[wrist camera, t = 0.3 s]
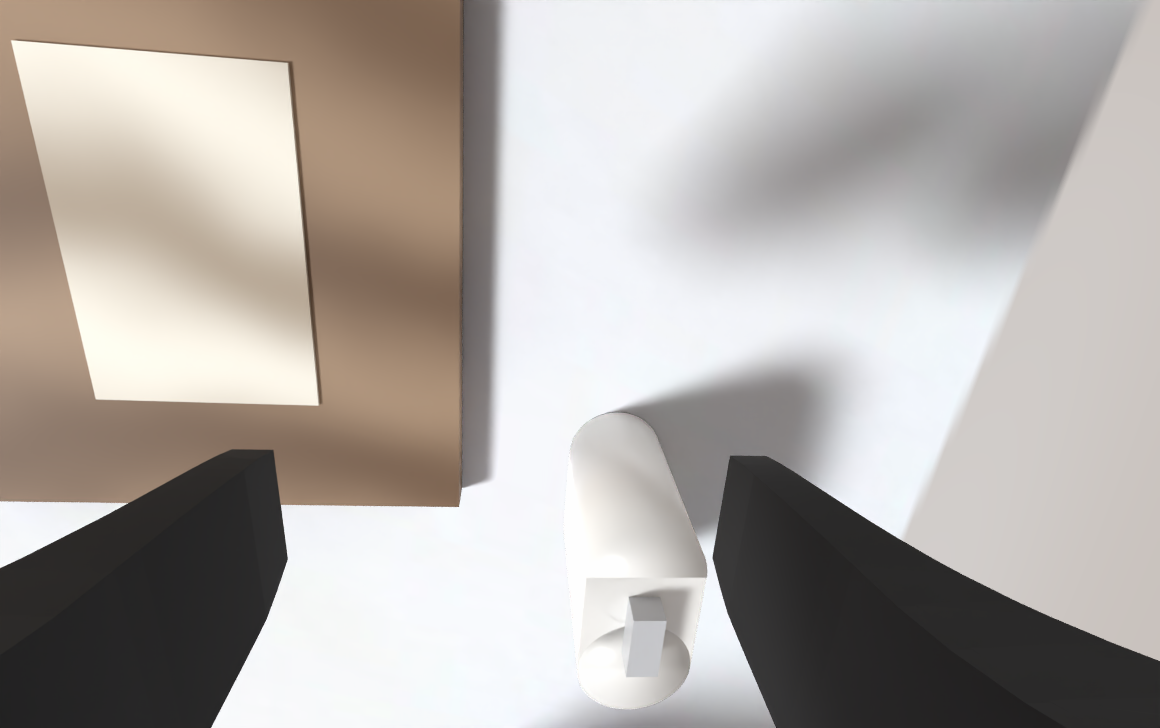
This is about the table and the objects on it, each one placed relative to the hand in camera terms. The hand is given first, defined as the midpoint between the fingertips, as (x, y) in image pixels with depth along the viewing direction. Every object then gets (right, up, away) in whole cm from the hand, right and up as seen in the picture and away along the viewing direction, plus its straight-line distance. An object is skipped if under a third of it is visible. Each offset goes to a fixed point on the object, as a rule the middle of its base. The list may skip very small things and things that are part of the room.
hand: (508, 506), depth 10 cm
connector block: (+2, -2, +12) cm, 12 cm away
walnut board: (-9, +6, +7) cm, 13 cm away
